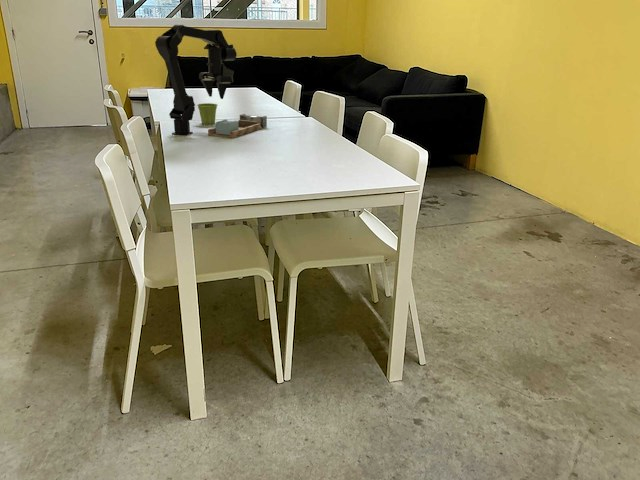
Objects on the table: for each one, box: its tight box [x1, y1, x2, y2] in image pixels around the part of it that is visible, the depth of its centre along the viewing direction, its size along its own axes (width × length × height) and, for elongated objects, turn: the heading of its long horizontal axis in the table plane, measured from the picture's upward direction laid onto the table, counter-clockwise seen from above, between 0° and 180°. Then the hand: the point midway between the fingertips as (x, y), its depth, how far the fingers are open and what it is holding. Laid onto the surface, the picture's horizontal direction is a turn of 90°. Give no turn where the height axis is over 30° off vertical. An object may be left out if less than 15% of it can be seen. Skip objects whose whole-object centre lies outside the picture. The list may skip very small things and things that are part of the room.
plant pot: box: [196, 102, 218, 125], centre depth 249 cm, size 9×9×9 cm
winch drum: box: [239, 113, 268, 129], centre depth 245 cm, size 4×12×5 cm, turn 67°
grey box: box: [214, 119, 239, 135], centre depth 226 cm, size 7×7×5 cm
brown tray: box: [207, 119, 262, 139], centre depth 232 cm, size 24×12×3 cm, turn 157°
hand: (216, 97), depth 235 cm, fingers open, 9 cm apart
